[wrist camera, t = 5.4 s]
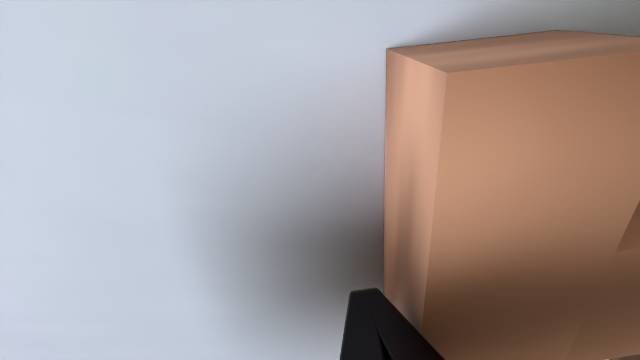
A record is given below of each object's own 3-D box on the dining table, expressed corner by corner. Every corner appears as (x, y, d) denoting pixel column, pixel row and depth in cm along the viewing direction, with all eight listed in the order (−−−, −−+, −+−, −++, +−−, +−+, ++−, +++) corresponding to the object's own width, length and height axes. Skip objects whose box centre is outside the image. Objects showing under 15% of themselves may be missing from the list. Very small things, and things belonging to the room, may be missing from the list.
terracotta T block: (662, 323, 13) (754, 399, 11) (382, 367, 13) (408, 460, 10) (874, -4, 8) (1181, -10, 5) (386, 49, 7) (447, 72, 4)
